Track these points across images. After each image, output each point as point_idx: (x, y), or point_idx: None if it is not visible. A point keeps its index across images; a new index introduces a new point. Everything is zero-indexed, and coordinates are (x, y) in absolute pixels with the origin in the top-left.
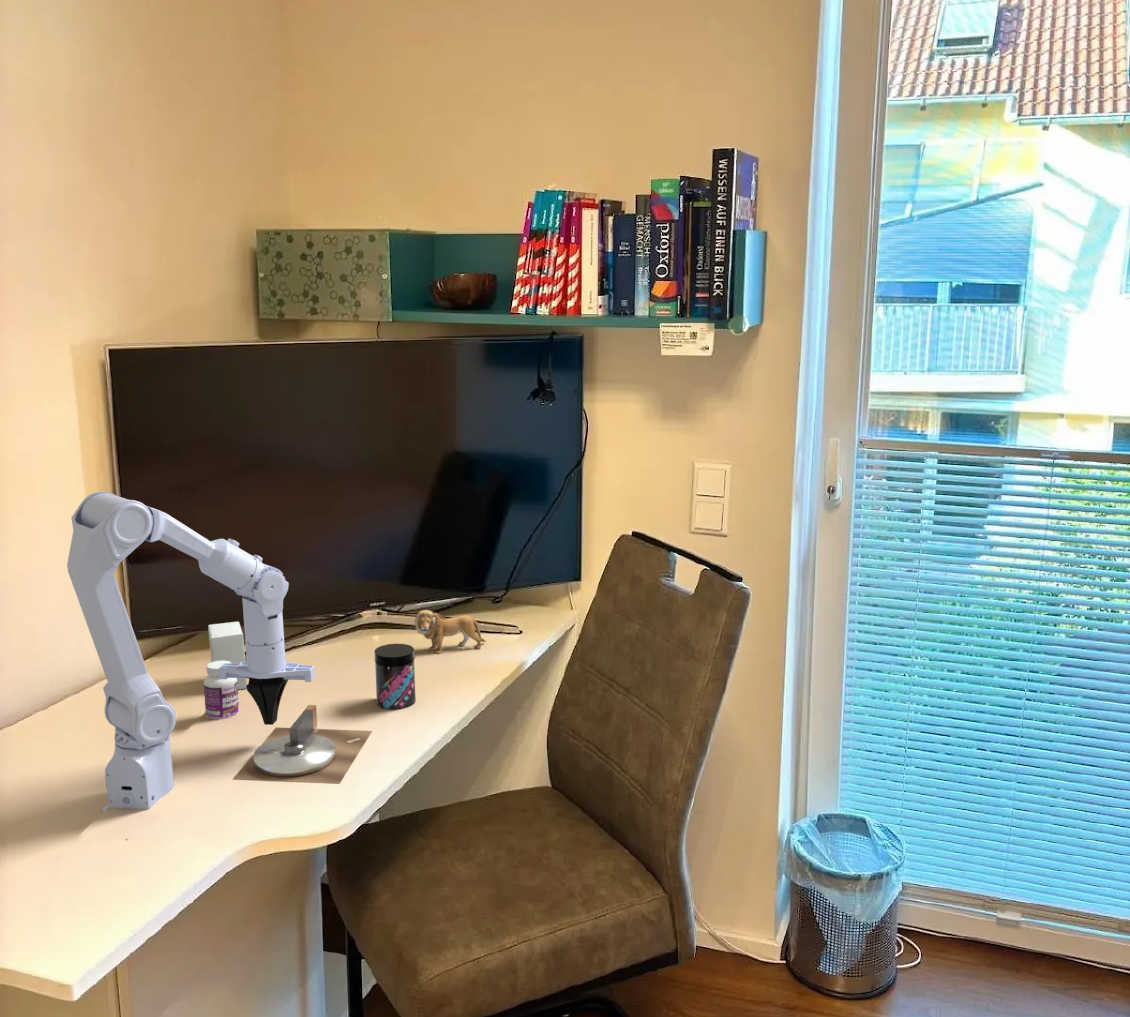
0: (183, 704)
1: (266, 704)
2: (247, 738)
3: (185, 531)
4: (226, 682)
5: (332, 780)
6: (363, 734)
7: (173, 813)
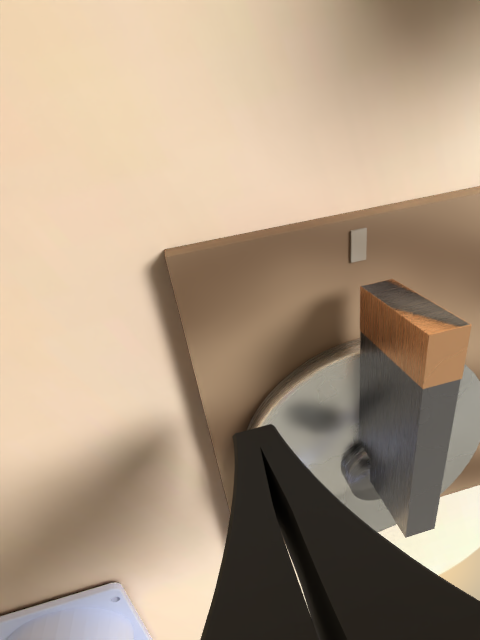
0: None
1: (306, 600)
2: (75, 327)
3: None
4: None
5: (473, 478)
6: None
7: (185, 633)
